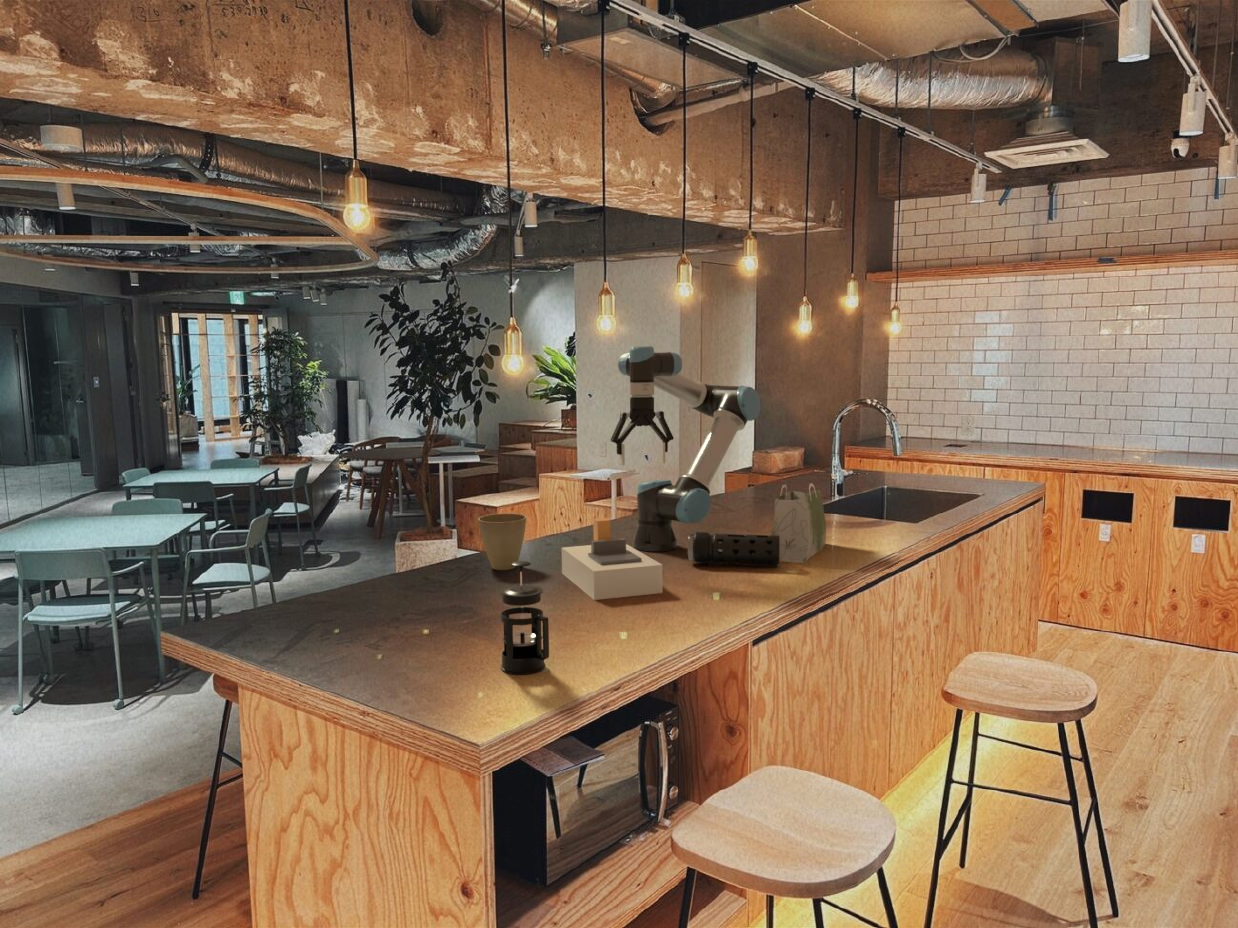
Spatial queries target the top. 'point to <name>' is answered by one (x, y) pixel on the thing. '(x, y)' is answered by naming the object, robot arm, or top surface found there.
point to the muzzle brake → (734, 549)
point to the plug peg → (601, 529)
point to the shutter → (611, 552)
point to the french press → (522, 647)
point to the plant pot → (502, 538)
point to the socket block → (611, 574)
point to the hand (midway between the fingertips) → (642, 463)
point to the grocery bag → (799, 525)
